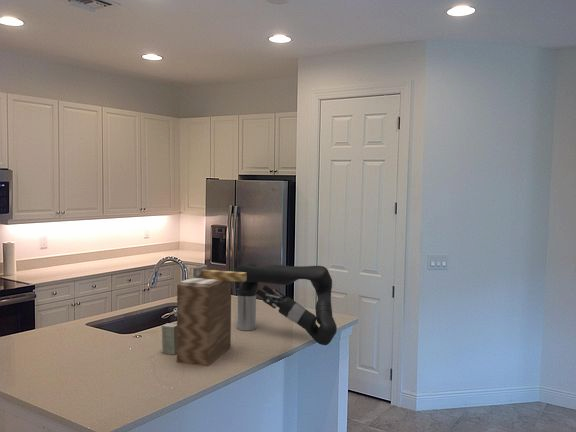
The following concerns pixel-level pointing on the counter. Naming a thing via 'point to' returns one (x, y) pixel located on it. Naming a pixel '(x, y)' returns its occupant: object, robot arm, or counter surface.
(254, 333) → the counter surface
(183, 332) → the zigzag wood block
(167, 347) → the skincare box
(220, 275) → the wood block with plate
